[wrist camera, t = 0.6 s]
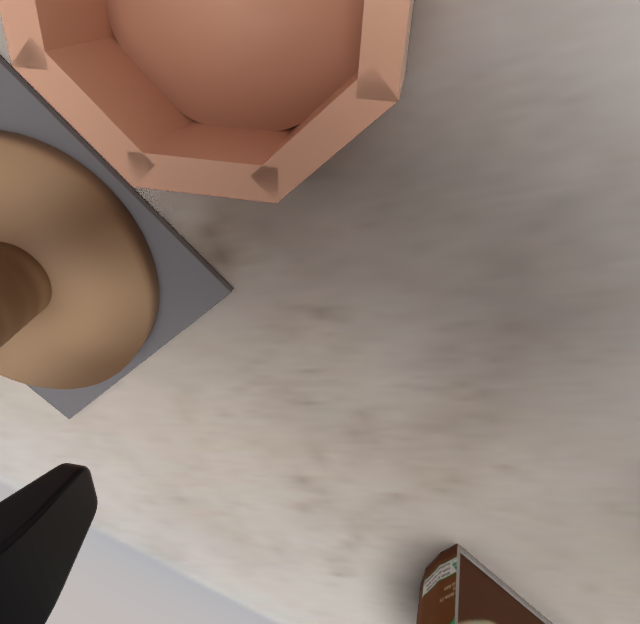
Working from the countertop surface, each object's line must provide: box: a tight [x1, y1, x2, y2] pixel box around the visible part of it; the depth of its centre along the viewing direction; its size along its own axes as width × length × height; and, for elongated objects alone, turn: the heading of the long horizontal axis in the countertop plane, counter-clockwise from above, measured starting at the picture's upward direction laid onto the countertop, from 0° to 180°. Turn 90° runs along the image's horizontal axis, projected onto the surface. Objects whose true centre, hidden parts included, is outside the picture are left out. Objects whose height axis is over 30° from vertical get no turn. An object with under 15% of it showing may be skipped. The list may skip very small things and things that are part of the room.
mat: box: [0, 56, 233, 419], centre depth 23 cm, size 12×12×1 cm
